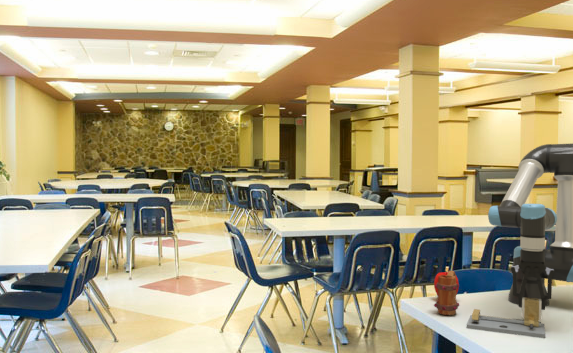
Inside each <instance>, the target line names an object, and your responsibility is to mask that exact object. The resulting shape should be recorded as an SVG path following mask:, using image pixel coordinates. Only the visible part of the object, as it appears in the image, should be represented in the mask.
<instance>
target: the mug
mask: <svg viewBox="0 0 573 353" xmlns="http://www.w3.org/2000/svg"><path fill="white" fill-rule="evenodd" d="M447 272H448V274H447V275H441V276H440V275H439V276H438V282H437V284H436V285H435V287H436V288H438V295H437V301H436V302H435V303H434V305H433V306H434V308H436V309H437V313H438V314H440V315H443V316H454V315H456V313H457V309H459V308H458V307H460V303H458V302H457V295H456V289H457V288H458V286H459V287H460V284H459V285H458V284H457V283H456V276H457V275H456V272H455V271H454V270H448V271H447Z"/></svg>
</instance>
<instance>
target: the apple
mask: <svg viewBox="0 0 573 353" xmlns="http://www.w3.org/2000/svg"><path fill="white" fill-rule="evenodd" d="M447 274H448V271H445V272H443V271H442V272H438V273H437V274H436V275H435V277H434V280H433V281H434V282H433V285H434V286H433V287H434V288H433V289H434V291H435V293H436V295H437V296H438V288H436V287H435V285H436V284H437V282H438V276H439V275H440V276H441V275H447ZM456 283H457V284H458V285H459V286H458V288H457V289H456V296H457V294H458V292H459V289H460V288H459V287H460V284H459V278H458V277H457V275H456Z"/></svg>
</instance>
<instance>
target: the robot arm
mask: <svg viewBox="0 0 573 353" xmlns="http://www.w3.org/2000/svg"><path fill="white" fill-rule="evenodd" d="M544 174H553V178H554V179H555V180H557V193H556V194H557V197H556V212H555V210H553V209H552V208H549V207H546V206H545V204H541V203H526V202H527V200H528V198H529V196H530V194H531V192H532V191H533V188H534V186H535V184H536V182H537V180H538V179H539V178H541V177H542V176H543V175H544ZM487 216H488V222H489V224H490V225H491V226H496V227H501V228H502V227H504V228H505V227H506V228H517V229H518V228H519V229H520V237H519V238H520V244H519V245H518V246H516V247H515V248H514V249H513V257H512V259H513V261H512V262H513V263H512V266H510V271H511V273H512V285H511V287H510V289H509V292H508V301H509V303H513V304H515V305H516V304H517V306H518V308H521V318H522V319H524V309H525V297H526V298H536V299H539V321H542V311H545V310H546V306H549V305H550V300H551V299H552V292H553V290H552V288H553V281H560V282H566V283H573V143H551V144H550V143H547V144H542V145H539V146H537V147H535V148H533V149H531V150H530V151H528V153H526V154H525V155H524V156H523V157H522V159H521V160H520V162H519V164H518V171H517V173H516V174H515V177H514V179H513V180H512V182H511V183H510V186H509V188H508V190H507V192H506V194H505V195H504V196H503V198H502V201H501V203H500V204H499V205H491V206H490V207H489V209H488V215H487ZM553 227H555V233H554V234H555V235H554V242H552V243H550V245H549V248H550V249H546V230H549V229H552V228H553ZM546 279H547V287H546V285H545V282H546V281H545V280H546Z"/></svg>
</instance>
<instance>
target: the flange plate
mask: <svg viewBox="0 0 573 353" xmlns="http://www.w3.org/2000/svg"><path fill="white" fill-rule="evenodd" d="M545 328H546V326H545V323H543V322H541V327H535V326H533V329H530V326H527V325H524V324H522V323H514V322H506V321H497V320H489V319H480V318H479V319H478V320H477V323H474V320H473V319H472V314H470V316H469V318H468V321H467V322H466V329H471V330H477V331H478V330H480V331H486V332H492V333H493V332H494V333H502V334H511V335H517V334H518V335H517V336H525V337H533V338H540V339H541V338H543V339H545V338H546V329H545Z"/></svg>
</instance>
